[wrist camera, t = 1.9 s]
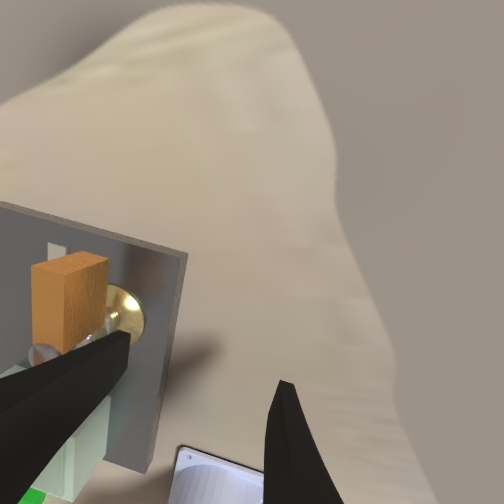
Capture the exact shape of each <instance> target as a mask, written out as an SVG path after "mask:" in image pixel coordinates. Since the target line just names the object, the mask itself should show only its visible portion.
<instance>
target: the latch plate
mask: <svg viewBox="0 0 504 504" xmlns="http://www.w3.org/2000/svg"><path fill="white" fill-rule="evenodd" d="M80 251H85V252H88V253H92V254H95V255H99V256H102V257H105V258H109V272H108V285H107V298H106V307H107V308H111V309H113V310H114V311H115V312H116V313H117V314H118V316H119V318H120V324H119V326H118V327H117V328H116V329H115V330H114V331H112V332H111V333H113V332H115V331H118V330H121V331H125V332H128V333H131V340H130V349H129V358H128V366H127V369H126V371H125V372H124V374H123V375H122V377H121V378H120V380H119V381H118V382H117V384H116V385H115V386H114V388H113V389H112V390H111V391H110V393H109V394H108V396H111V403H110V414H109V424H108V435H107V445H106V455H105V456H104V458H103V460H106V461H109V462H111V463H114V464H117V465H120V466H123V467H125V468H128V469H131V470H134V471H137V472H139V473H142V474H145V473H146V471H147V469H148V467H149V465H150V463H151V461H152V458H153V452H154V446H155V441H156V435H157V429H158V424H159V418H160V412H161V406H162V401H163V395H164V389H165V383H166V378H167V372H168V366H169V361H170V355H171V349H172V343H173V338H174V332H175V326H176V321H177V315H178V309H179V303H180V298H181V292H182V286H183V280H184V275H185V269H186V263H187V258H188V253H185V252H181V251H178V250H174V249H170V248H167V247H163V246H160V245H156V244H153V243H149V242H146V241H142V240H138V239H135V238H131V237H128V236H124V235H121V234H117V233H113V232H110V231H106V230H103V229H99V228H96V227H92V226H89V225H85V224H81V223H78V222H74V221H71V220H67V219H64V218H60V217H57V216H53V215H49V214H46V213H42V212H39V211H35V210H32V209H28V208H25V207H21V206H17V205H14V204H10V203H7V202H3V201H2V202H0V375H1V374H2V373H4V372H5V371H7V370H8V369H10V368H11V367H13V366H15V365H18V366H21V367H24V368H27V369H28V368H31V367H32V366H31V364H30V362H29V359H28V352H29V349H30V348H31V347H32V346H33V335H32V289H31V265H35V264H38V263H42V262H45V261H49V260H52V259H56V258H59V257H63V256H66V255H70V254H73V253H77V252H80ZM111 333H110V334H111Z"/></svg>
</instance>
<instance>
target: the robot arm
mask: <svg viewBox="0 0 504 504" xmlns="http://www.w3.org/2000/svg"><path fill="white" fill-rule="evenodd" d="M130 340H131V333H128V332H125V331H121V330H118V331H115V332H113V333H111V334H108V335H106V336H104V337H102V338H100V339H97V340H95V341H93V342H91V343H89V344H86V345H84V346H82V347H80V348H77V349H75V350H73V351H70V352H68V353H66V354H63V355H61V356H58V357H56V358H54V359H51V360H49V361H46V362H44V363H41V364H39V365H36V366H34V367H31V368H28V369H25V370H23V371H20V372H17V373H14V374H11V375H8V376H5V377H2V378H0V504H18V503H19V502H20V500H21V499H22V497H23V496H24V495H25V493H26V492H27V491H28V489H29V488H30V487H31V485H32V484H33V483H34V481H35V480H36V479H37V477H38V476H39V475H40V474H41V472H42V471H43V470H44V468H45V467H46V466H47V464H48V463H49V462H50V461H51V459H52V458H53V457H54V455H55V454H56V453H57V452H58V450H59V449H60V448H61V447H62V446H63V445H64V443H65V442H66V441H67V440H68V439H69V438H70V436H71V435H72V434H73V433H74V432H75V431H76V430H77V429H78V427H79V426H80V425H81V424H82V423H83V422H84V421H85V420H86V419H87V417H88V416H89V415H90V414H91V413H92V412H93V411H94V410H95V408H96V407H97V406H98V405H99V404H100V403H101V402H102V401H103V399H104V398H105V397H106V396H107V395H108V394H109V393H110V391H111V390H112V389H113V388H114V386H115V385H116V384H117V382H118V381H119V380H120V378H121V377H122V375H123V374H124V372H125V371H126V369H127V366H128V358H129V349H130ZM168 504H344V503H343V501H342V499H341V497H340V495H339V493H338V491H337V489H336V487H335V485H334V483H333V481H332V479H331V477H330V475H329V473H328V471H327V469H326V467H325V465H324V463H323V460H322V458H321V456H320V454H319V451H318V449H317V447H316V444H315V442H314V440H313V437H312V435H311V432H310V429H309V427H308V424H307V422H306V419H305V416H304V414H303V411H302V408H301V405H300V402H299V399H298V396H297V393H296V389H295V386H294V384H292V383H288V382H285V381H282V380H280V381H279V384H278V387H277V390H276V393H275V396H274V399H273V401H272V404H271V407H270V410H269V413H268V419H267V427H266V435H265V451H264V474H263V473H260V472H257V471H254V470H251V469H248V468H246V467H243V466H240V465H237V464H234V463H231V462H228V461H225V460H222V459H219V458H216V457H213V456H210V455H208V454H205V453H202V452H199V451H196V450H193V449H190V448H187V447H182V448H180V451H179V453H178V458H177V462H176V467H175V472H174V476H173V481H172V486H171V490H170V495H169V499H168Z"/></svg>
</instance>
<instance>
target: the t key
mask: <svg viewBox="0 0 504 504" xmlns="http://www.w3.org/2000/svg"><path fill="white" fill-rule="evenodd" d="M108 272H109V258H105V257H102V256H99V255H95V254H92V253H88V252H85V251H80V252H77V253H73V254H70V255H66V256H63V257H59V258H56V259H52V260H49V261H45V262H42V263H38V264H35V265H31V289H32V335H33V346H32V347H31V348H30V349H29V352H28V359H29V362H30V364H31V366H32V367H34V366H36V365H39V364H41V363H44V362H46V361H49V360H51V359H54V358H56V357H58V356H61V355H63V354H66V353H68V352H70V351H73V350H75V349H77V348H80V347H82V346H84V345H86V344H89V343H91V342H93V341H95V340H97V339H100V338H102V337H104V336H106V335H108V334H110V333H111V332H112V331H114V330H115V329H116V328H117V327H118V326H119V324H120V318H119V316H118V314H117V313H116V312H115V311H114V310H113V309H111V308H107V307H106V298H107V285H108Z"/></svg>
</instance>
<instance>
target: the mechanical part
mask: <svg viewBox="0 0 504 504" xmlns="http://www.w3.org/2000/svg"><path fill="white" fill-rule="evenodd" d="M45 496H46V493H44V492H42V491H39V490H36V489H34V488H31V487H30V488H29V489H28V491H27V492H26V493H25V495H24V496H23V497H22V499H21V500H20V502H19V503H18V504H42V502H43V501H44V499H45Z"/></svg>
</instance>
